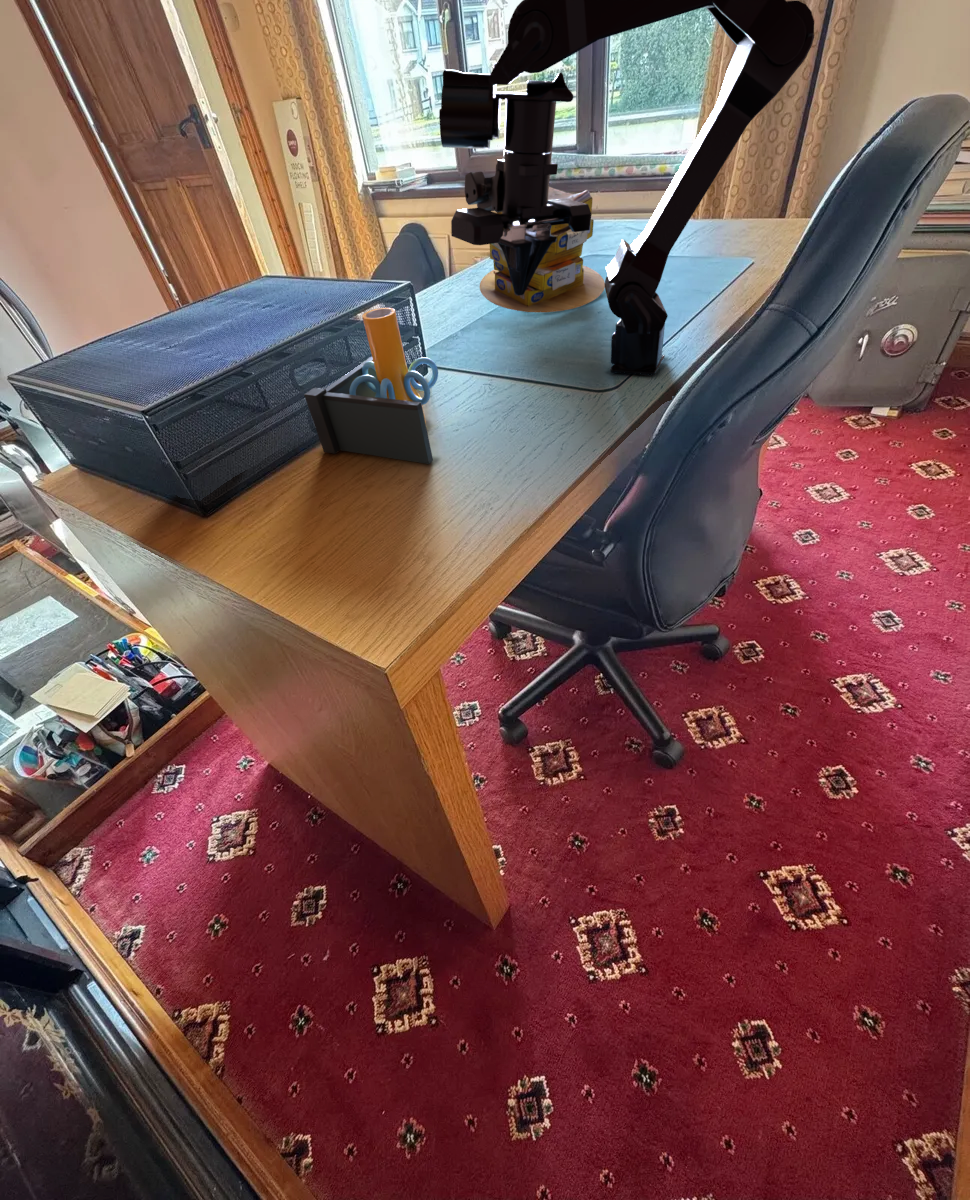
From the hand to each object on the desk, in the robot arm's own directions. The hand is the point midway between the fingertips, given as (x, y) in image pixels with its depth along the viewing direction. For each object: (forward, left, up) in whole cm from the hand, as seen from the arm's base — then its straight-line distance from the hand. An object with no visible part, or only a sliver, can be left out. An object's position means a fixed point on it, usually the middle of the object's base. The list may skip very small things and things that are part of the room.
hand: (519, 294), depth 78 cm
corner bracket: (+9, +19, -11) cm, 24 cm away
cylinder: (+9, +20, -12) cm, 25 cm away
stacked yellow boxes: (+12, -38, -12) cm, 42 cm away
